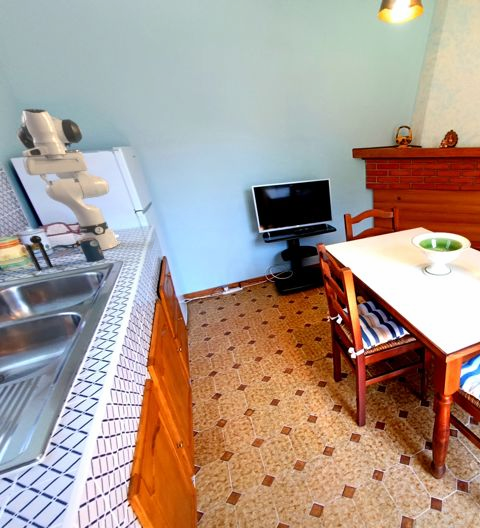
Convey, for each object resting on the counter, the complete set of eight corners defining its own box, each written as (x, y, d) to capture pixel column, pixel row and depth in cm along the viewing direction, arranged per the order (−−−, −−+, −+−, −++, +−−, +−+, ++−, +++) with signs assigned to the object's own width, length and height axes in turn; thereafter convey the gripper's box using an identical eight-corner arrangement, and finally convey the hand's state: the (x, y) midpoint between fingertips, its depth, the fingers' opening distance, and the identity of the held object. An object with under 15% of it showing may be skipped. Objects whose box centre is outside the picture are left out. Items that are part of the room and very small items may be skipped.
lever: (43, 240, 132) (39, 233, 132) (32, 243, 129) (28, 235, 129) (41, 250, 140) (37, 243, 140) (31, 252, 137) (27, 245, 137)
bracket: (62, 269, 143) (49, 242, 138) (37, 276, 136) (22, 248, 131) (54, 265, 149) (42, 239, 144) (29, 272, 142) (15, 244, 137)
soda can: (107, 260, 151) (99, 238, 147) (91, 265, 146) (81, 242, 141) (102, 258, 155) (93, 236, 150) (86, 263, 149) (76, 240, 145)
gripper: (78, 149, 138) (89, 180, 143) (16, 152, 122) (31, 186, 127) (83, 149, 135) (95, 180, 140) (20, 151, 119) (36, 187, 124)
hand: (64, 183), depth 134 cm, fingers open, 8 cm apart
